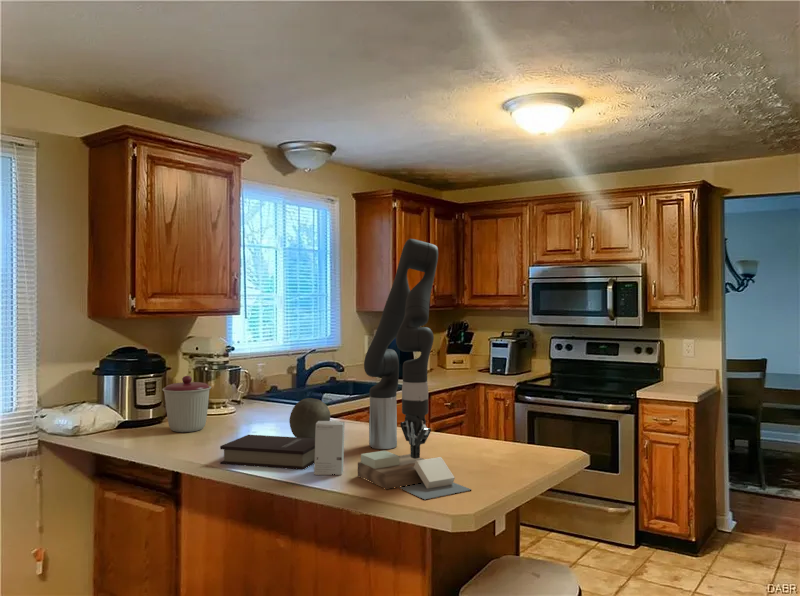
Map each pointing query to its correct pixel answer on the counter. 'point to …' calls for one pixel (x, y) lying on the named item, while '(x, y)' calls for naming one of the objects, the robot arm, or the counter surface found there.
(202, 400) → the canister
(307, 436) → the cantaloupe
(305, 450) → the book
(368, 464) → the sage tile
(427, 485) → the cream tile
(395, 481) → the walnut board
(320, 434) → the skincare box
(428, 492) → the grey mat
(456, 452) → the counter surface
